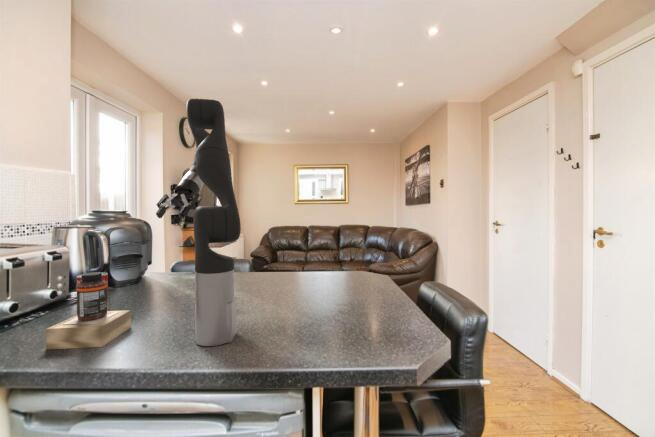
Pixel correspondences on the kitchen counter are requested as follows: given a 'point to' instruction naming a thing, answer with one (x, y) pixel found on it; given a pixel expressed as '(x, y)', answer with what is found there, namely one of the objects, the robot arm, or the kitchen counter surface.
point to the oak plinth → (88, 331)
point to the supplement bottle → (91, 297)
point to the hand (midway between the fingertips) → (169, 216)
